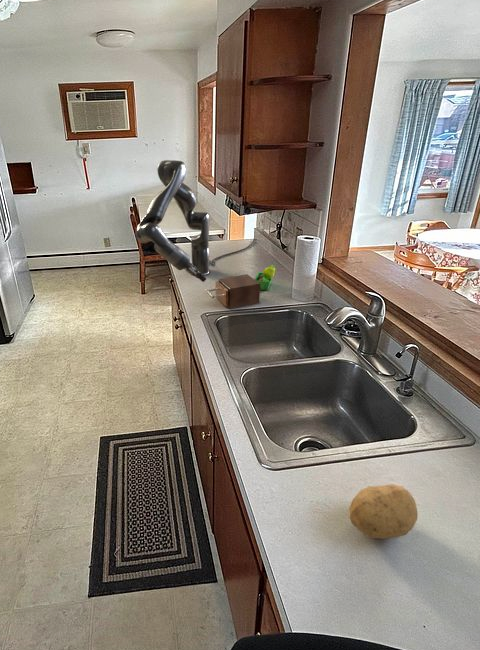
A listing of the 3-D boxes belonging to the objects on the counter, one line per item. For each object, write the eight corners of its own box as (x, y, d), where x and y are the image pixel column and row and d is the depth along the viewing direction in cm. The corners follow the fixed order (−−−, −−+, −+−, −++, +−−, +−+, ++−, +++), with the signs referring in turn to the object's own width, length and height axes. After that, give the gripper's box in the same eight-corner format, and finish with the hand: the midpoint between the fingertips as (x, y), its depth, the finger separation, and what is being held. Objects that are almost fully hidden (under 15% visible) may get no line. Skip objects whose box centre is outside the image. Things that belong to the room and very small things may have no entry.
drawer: (213, 309, 170) (213, 292, 167) (204, 299, 180) (203, 283, 177) (253, 301, 176) (253, 285, 172) (241, 292, 186) (242, 277, 182)
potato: (332, 514, 82) (337, 487, 79) (387, 495, 85) (394, 469, 82) (366, 560, 73) (373, 532, 70) (425, 536, 77) (434, 509, 73)
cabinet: (229, 308, 172) (230, 288, 168) (218, 297, 183) (218, 278, 179) (259, 303, 176) (260, 283, 172) (246, 292, 187) (247, 274, 183)
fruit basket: (257, 281, 199) (258, 260, 194) (275, 283, 196) (276, 262, 192) (253, 290, 189) (254, 268, 185) (272, 292, 187) (273, 269, 182)
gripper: (187, 254, 156) (216, 278, 164) (177, 245, 167) (204, 268, 175) (175, 268, 156) (204, 292, 165) (166, 259, 168) (193, 281, 176)
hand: (204, 279), depth 170 cm, fingers closed
